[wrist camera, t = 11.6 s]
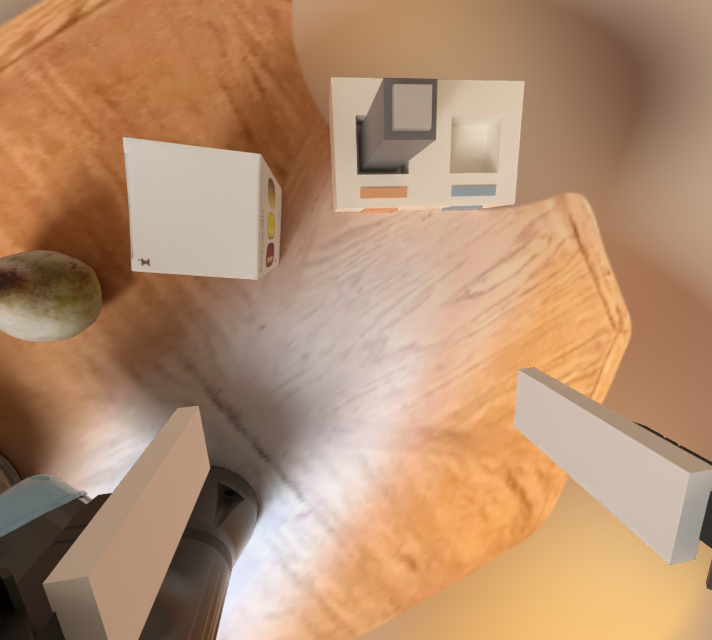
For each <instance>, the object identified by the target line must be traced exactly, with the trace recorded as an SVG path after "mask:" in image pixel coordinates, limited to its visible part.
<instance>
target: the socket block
mask: <svg viewBox="0 0 712 640" xmlns="http://www.w3.org/2000/svg"><path fill="white" fill-rule="evenodd" d="M382 80H383V78H349V77H331V83H330V91H329V99H328V107H329V128H330V149H331V169H332V189H333V210H334V212H359V211H361V213H386V212H394V211H397V210H431V209H442V211H456V210H473V209H480V208H490V207H497V206H503V205H509V204H515V195H516V183H517V170H518V158H519V146H520V134H521V121H522V109H523V97H524V85H525V84H524V83H525V81H502V80H450V79H438V81H437V123H436V140H435V141H434V142H433V143H431V144H430V145H429V146H427V147H426V148H425V149H423V150H422V151H421V152H420V153H418V154H417V155H416V156H414V157H413V158H412V159H411V160H409V161H408V162H407V163H405V164H404V165H403V166H401V167H400V168H399V169H398V170H396V171H395V172H360V162H359V131H360V128H361V126H362V124H363V122H364V120H365V117H366V115H367V113H368V111H369V109H370V107H371V104H372V102H373V100H374V98H375V96H376V93H377V91H378V89H379V87H380V85H381V82H382Z"/></svg>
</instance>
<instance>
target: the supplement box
mask: <svg viewBox="0 0 712 640" xmlns="http://www.w3.org/2000/svg"><path fill="white" fill-rule="evenodd" d="M123 147H124V156H125V168H126V179H127V190H128V204H129V217H130V241H131V271H136V272H151V273H166V274H180V275H195V276H210V277H224V278H238V279H252V280H258V279H260V278H261V277H262V276H264V275H265V274H267V273H268V272H269V271H271V270H272V269H273V268H275V267H276V266H278V265H279V253H280V233H281V206H282V189H281V187H280V185H279V184H278V182H277V180H276V179H275V177H274V175H273V173H272V172H271V170H270V168H269V167H268V165H267V163H266V162H265V160H264V158H263V156H262V155H261V154H259V153H250V152H242V151H234V150H225V149H217V148H208V147H200V146H192V145H185V144H177V143H169V142H162V141H154V140H147V139H140V138H132V137H123Z"/></svg>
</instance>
